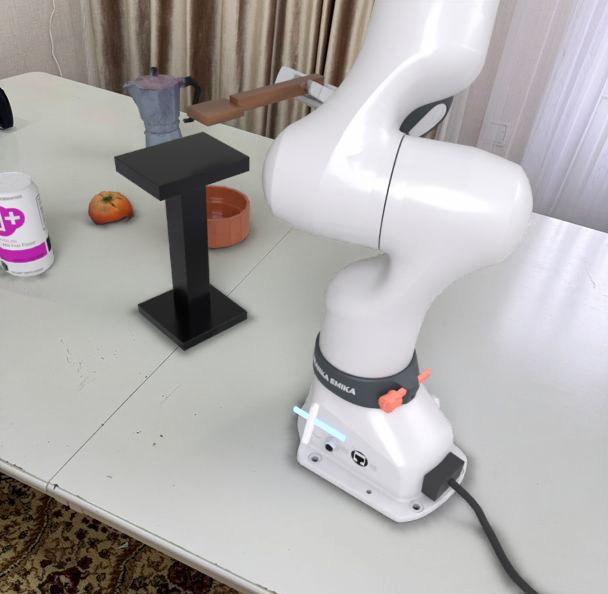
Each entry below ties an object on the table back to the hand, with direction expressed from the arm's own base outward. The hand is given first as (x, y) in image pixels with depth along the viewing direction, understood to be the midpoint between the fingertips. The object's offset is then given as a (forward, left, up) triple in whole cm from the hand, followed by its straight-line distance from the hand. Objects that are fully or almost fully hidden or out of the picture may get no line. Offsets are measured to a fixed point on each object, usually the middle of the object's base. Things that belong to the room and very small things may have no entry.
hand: (301, 83), depth 88 cm
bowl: (+18, +3, -31) cm, 36 cm away
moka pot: (+47, -7, -32) cm, 57 cm away
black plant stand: (0, +21, -31) cm, 38 cm away
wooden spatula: (0, +7, -1) cm, 7 cm away
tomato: (+34, +15, -32) cm, 49 cm away
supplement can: (+28, +34, -32) cm, 54 cm away
